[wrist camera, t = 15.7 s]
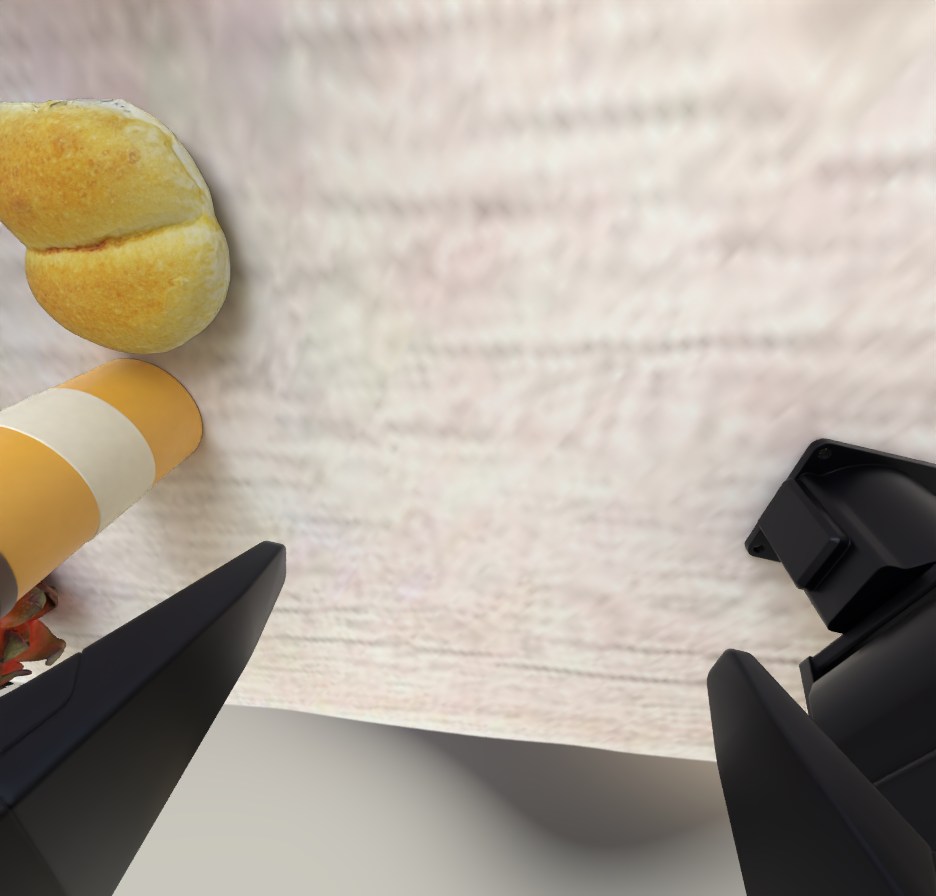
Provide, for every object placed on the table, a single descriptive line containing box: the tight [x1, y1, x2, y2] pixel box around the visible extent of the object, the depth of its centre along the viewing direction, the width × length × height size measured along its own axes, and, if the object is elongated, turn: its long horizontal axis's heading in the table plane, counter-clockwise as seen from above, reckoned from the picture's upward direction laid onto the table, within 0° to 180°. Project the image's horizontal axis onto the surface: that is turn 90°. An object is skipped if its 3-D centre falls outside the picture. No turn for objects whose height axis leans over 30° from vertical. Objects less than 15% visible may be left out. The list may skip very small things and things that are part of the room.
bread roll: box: [0, 99, 230, 354], centre depth 18 cm, size 8×9×4 cm
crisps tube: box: [0, 359, 202, 619], centre depth 20 cm, size 6×6×11 cm
